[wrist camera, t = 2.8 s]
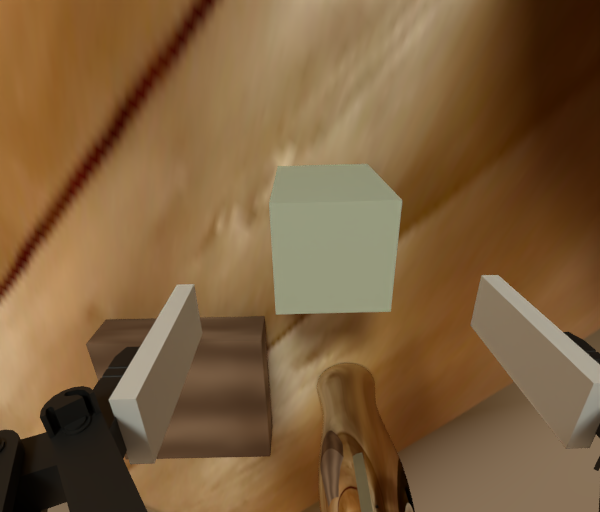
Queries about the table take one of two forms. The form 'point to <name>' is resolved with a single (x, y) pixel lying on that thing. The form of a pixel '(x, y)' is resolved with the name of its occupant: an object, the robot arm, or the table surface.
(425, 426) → the table surface
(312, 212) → the sage block
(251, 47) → the table surface
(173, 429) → the walnut block
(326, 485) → the beer glass
